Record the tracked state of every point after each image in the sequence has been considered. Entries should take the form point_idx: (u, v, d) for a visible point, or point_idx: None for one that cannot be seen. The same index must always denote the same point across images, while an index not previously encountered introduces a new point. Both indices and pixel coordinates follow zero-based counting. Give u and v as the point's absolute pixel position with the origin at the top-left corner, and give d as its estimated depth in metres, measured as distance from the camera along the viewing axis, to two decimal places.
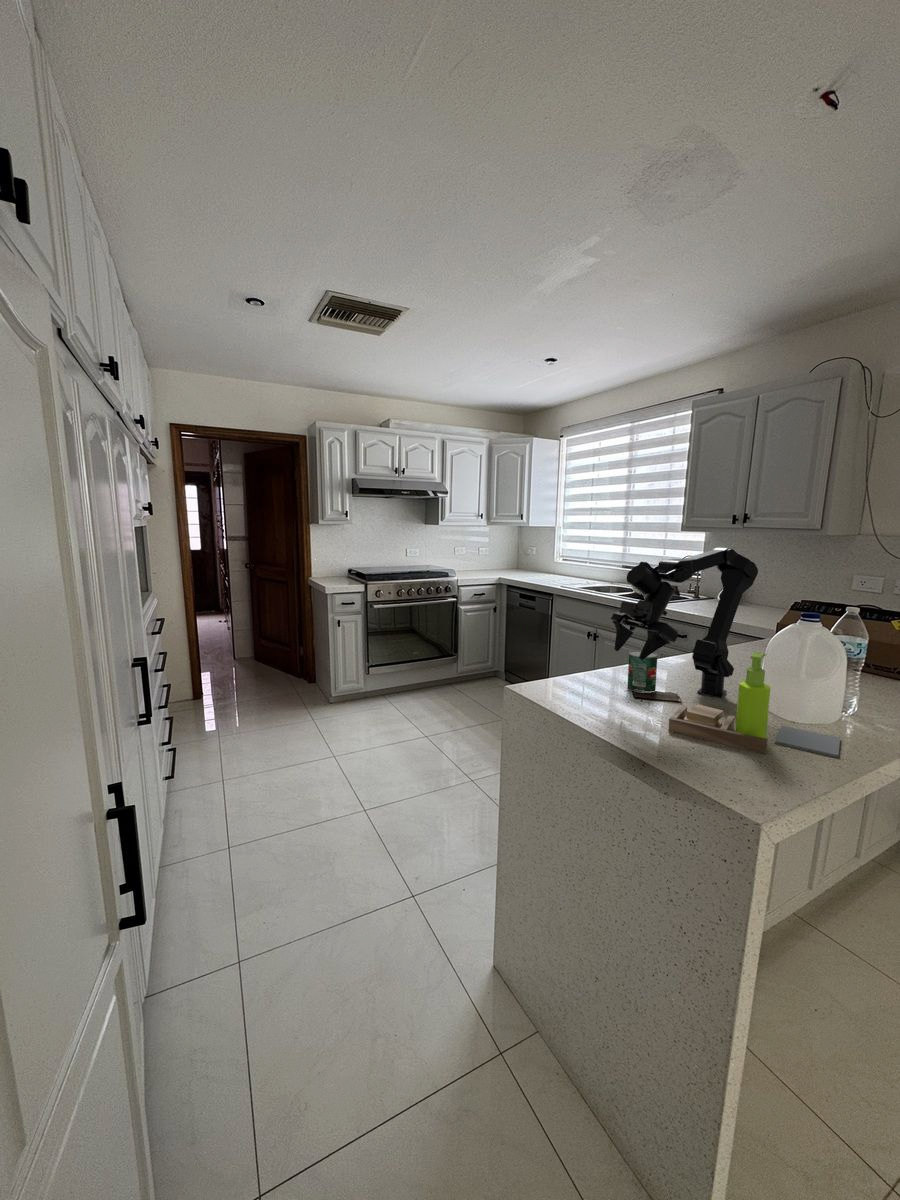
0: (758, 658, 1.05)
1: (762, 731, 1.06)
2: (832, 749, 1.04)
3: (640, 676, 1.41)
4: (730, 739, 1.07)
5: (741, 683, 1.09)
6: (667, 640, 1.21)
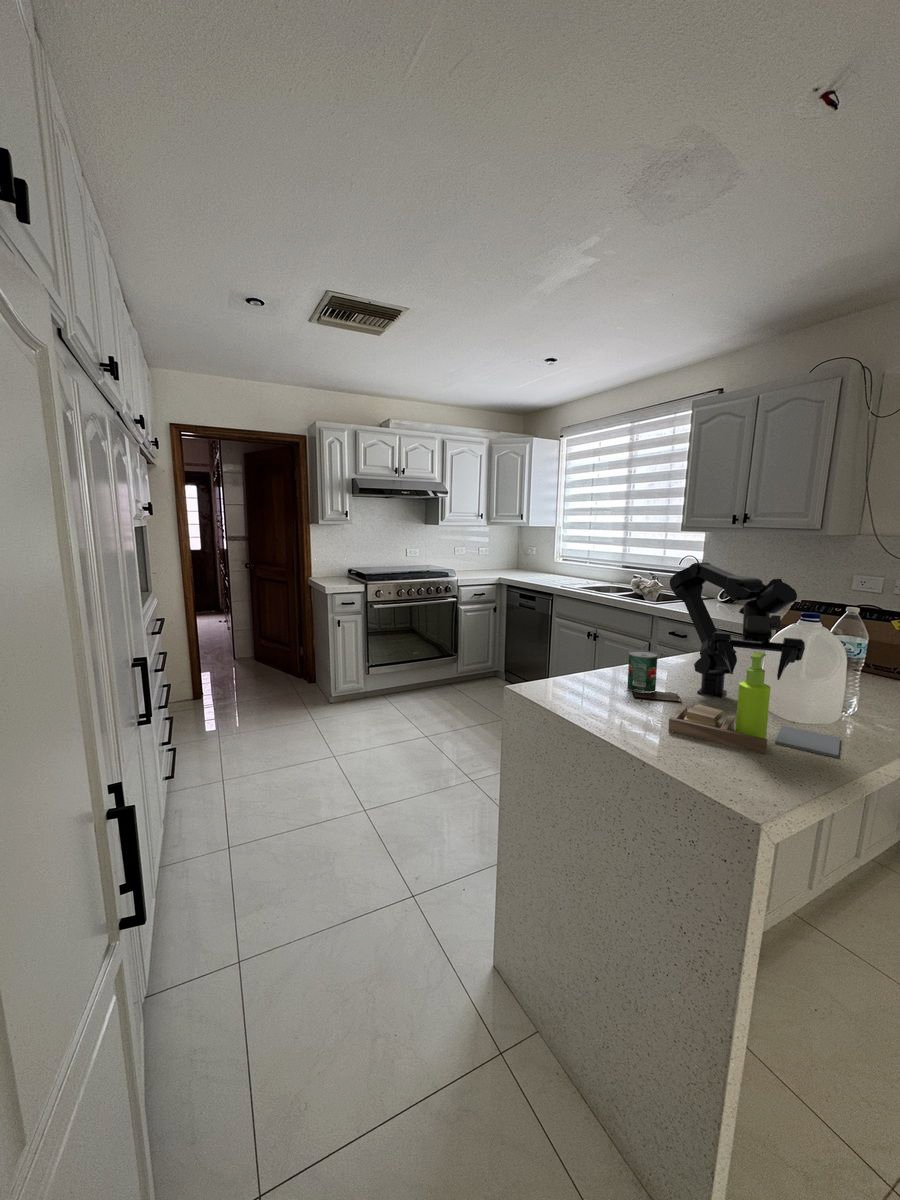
0: (758, 658, 1.05)
1: (762, 731, 1.06)
2: (832, 749, 1.04)
3: (640, 676, 1.41)
4: (730, 739, 1.07)
5: (741, 683, 1.09)
6: None
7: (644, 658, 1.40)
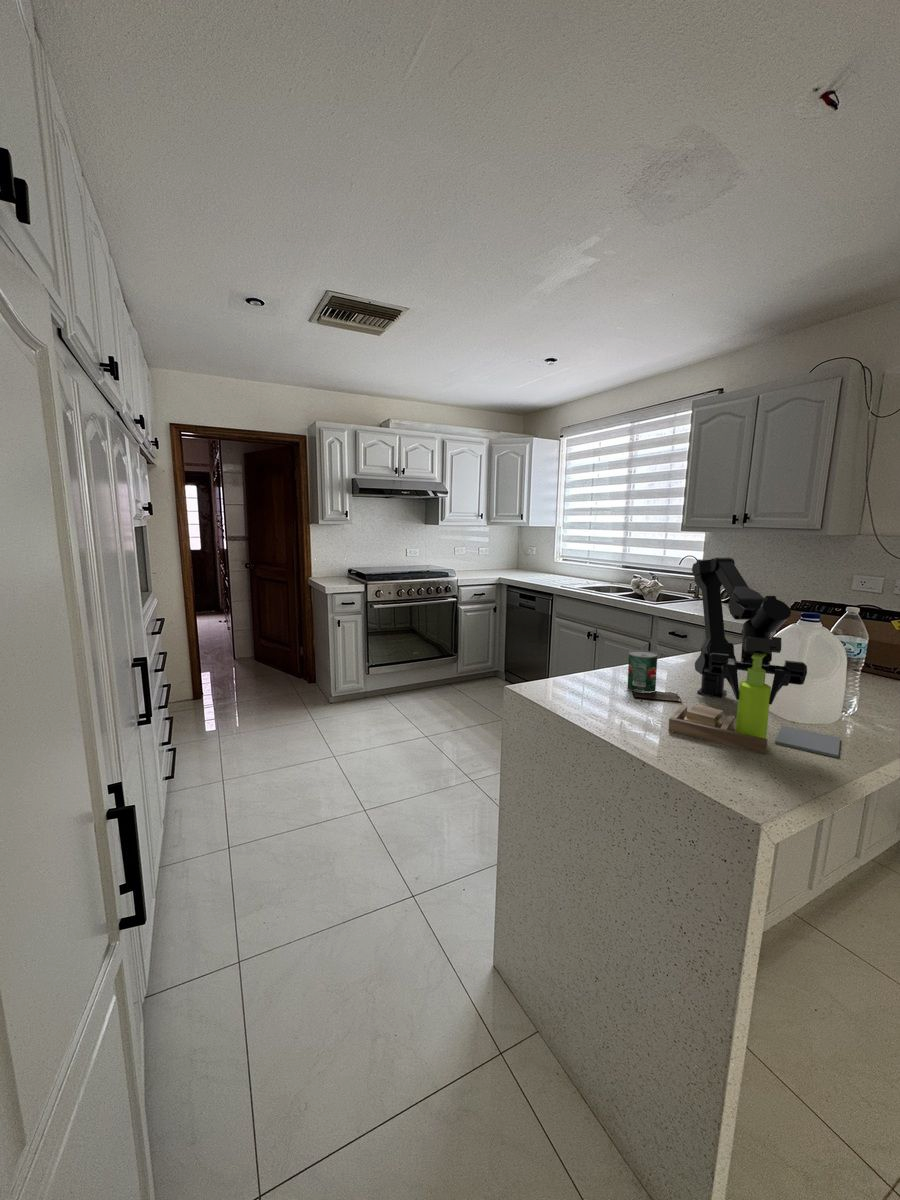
0: (759, 658, 1.05)
1: (762, 731, 1.06)
2: (832, 749, 1.04)
3: (640, 676, 1.41)
4: (730, 739, 1.07)
5: (742, 683, 1.09)
6: (788, 681, 1.09)
7: (644, 658, 1.40)
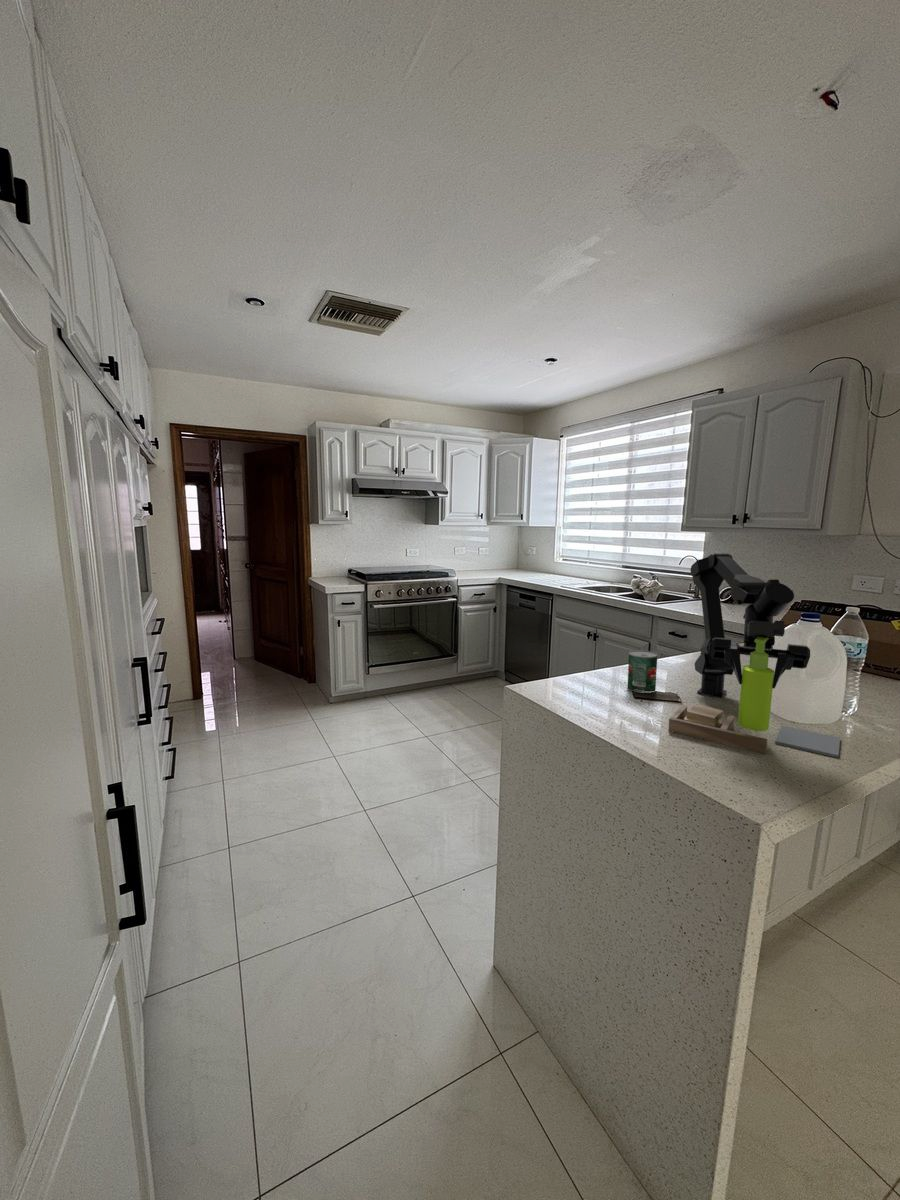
0: (762, 642, 1.05)
1: (765, 715, 1.06)
2: (832, 749, 1.04)
3: (640, 676, 1.41)
4: (730, 739, 1.07)
5: (744, 667, 1.08)
6: None
7: (644, 658, 1.40)
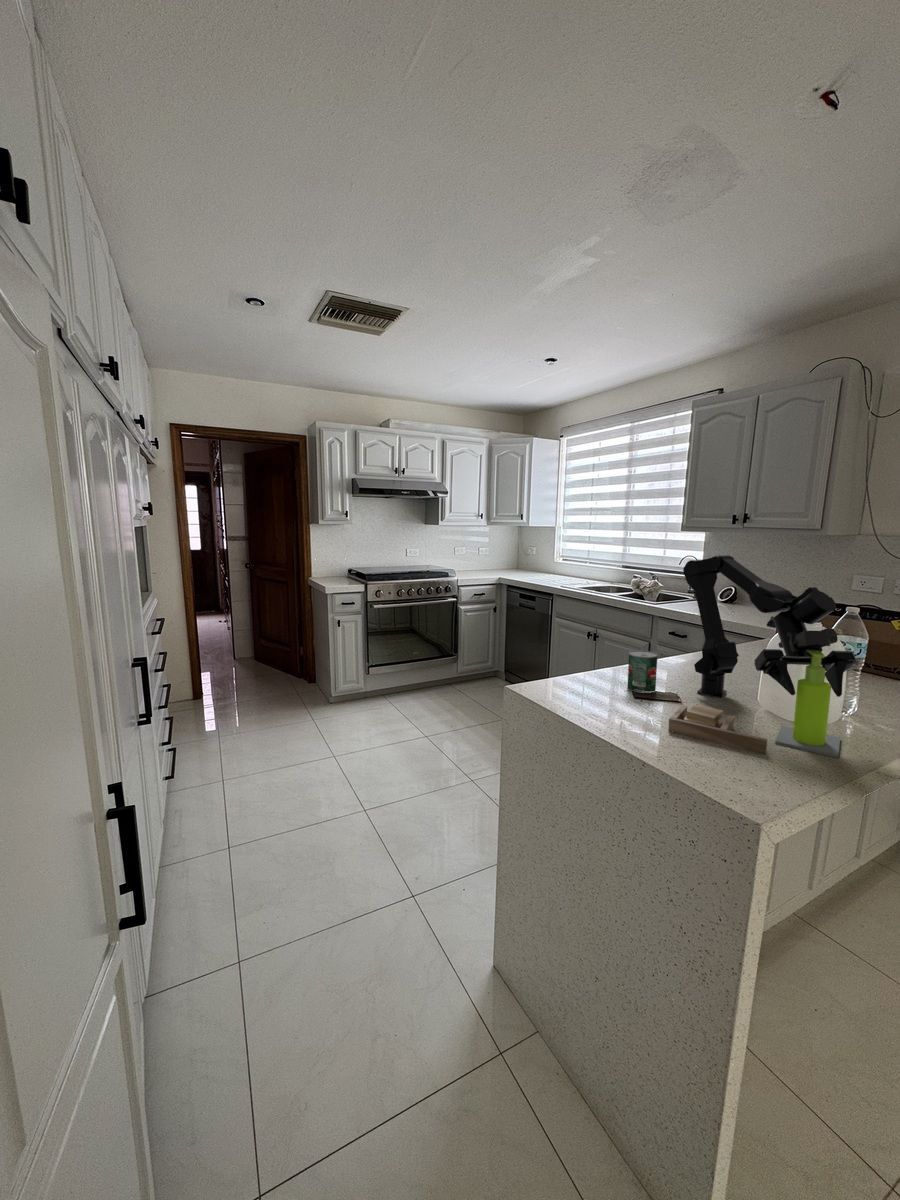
0: (822, 656, 1.04)
1: (826, 728, 1.06)
2: (832, 749, 1.04)
3: (640, 676, 1.41)
4: (730, 739, 1.07)
5: (802, 683, 1.07)
6: None
7: (644, 658, 1.40)
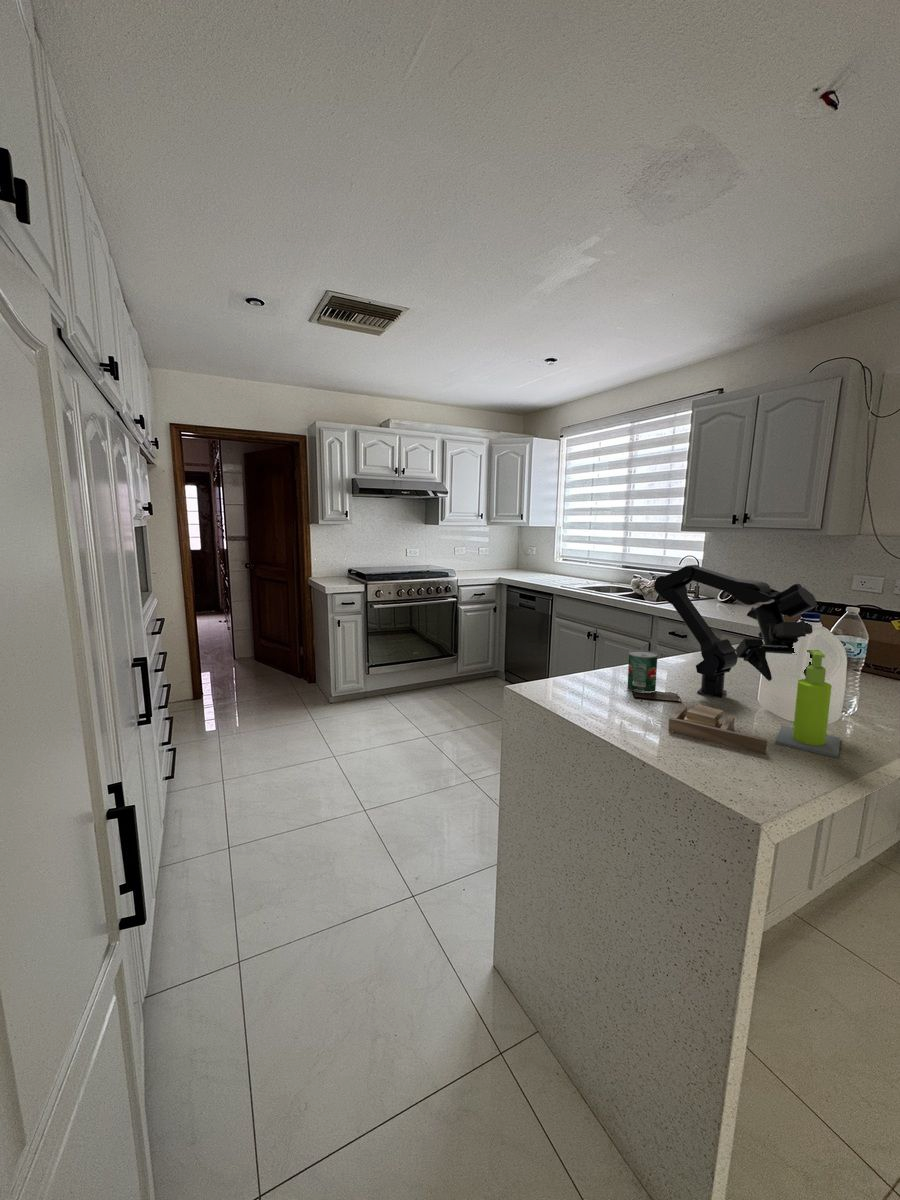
0: (822, 656, 1.04)
1: (826, 728, 1.06)
2: (832, 749, 1.04)
3: (640, 676, 1.41)
4: (730, 739, 1.07)
5: (802, 682, 1.07)
6: None
7: (644, 658, 1.40)
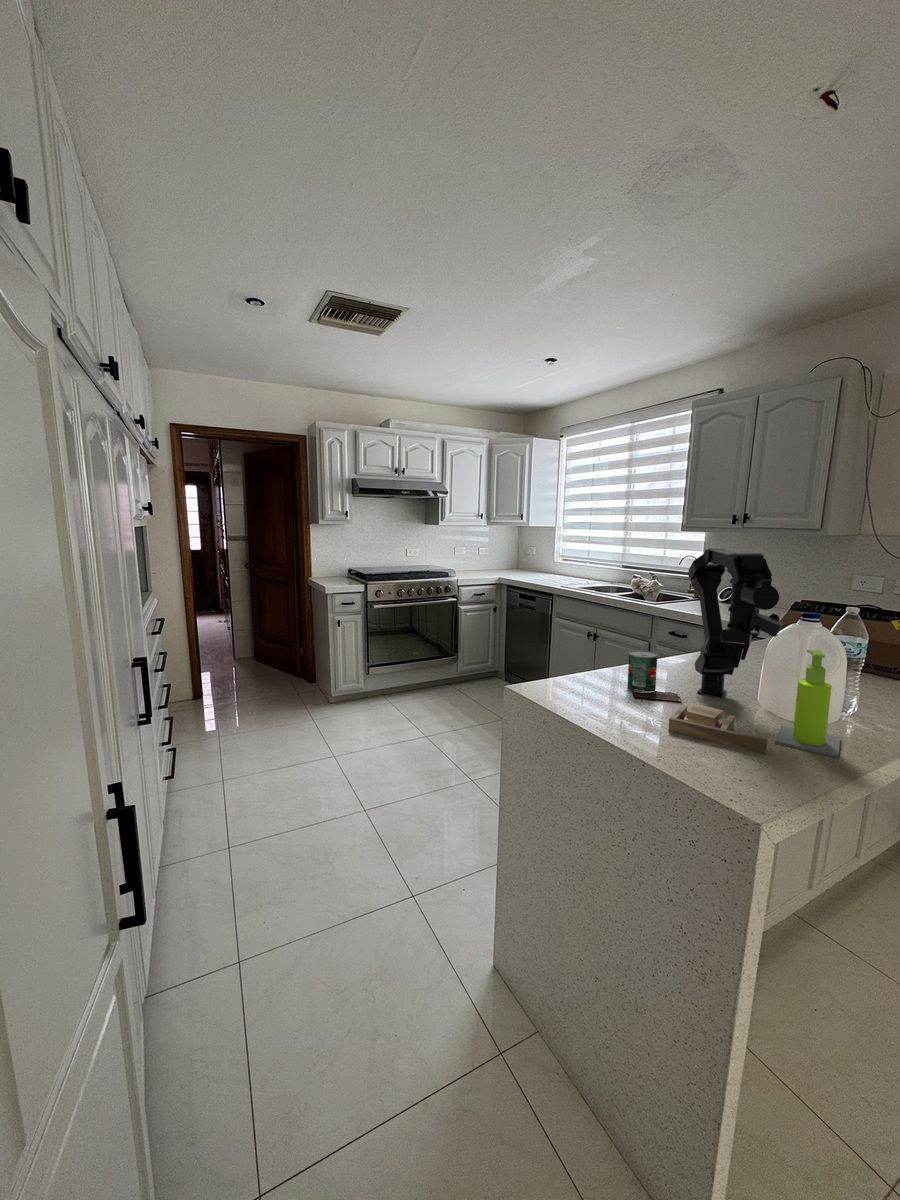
0: (822, 656, 1.04)
1: (826, 728, 1.06)
2: (832, 749, 1.04)
3: (640, 676, 1.41)
4: (730, 739, 1.07)
5: (802, 682, 1.07)
6: None
7: (644, 658, 1.40)
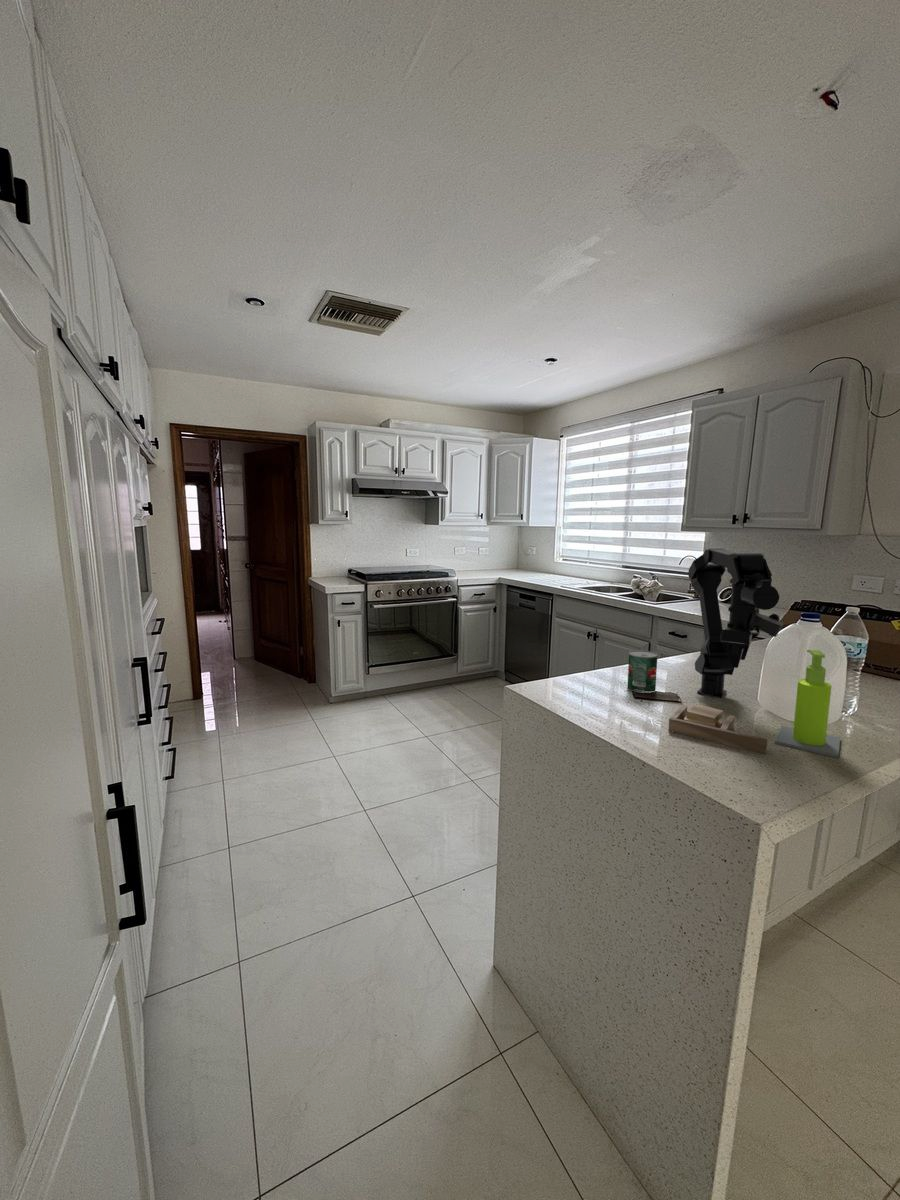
0: (822, 656, 1.04)
1: (826, 728, 1.06)
2: (832, 749, 1.04)
3: (640, 676, 1.41)
4: (730, 739, 1.07)
5: (802, 682, 1.07)
6: None
7: (644, 658, 1.40)
